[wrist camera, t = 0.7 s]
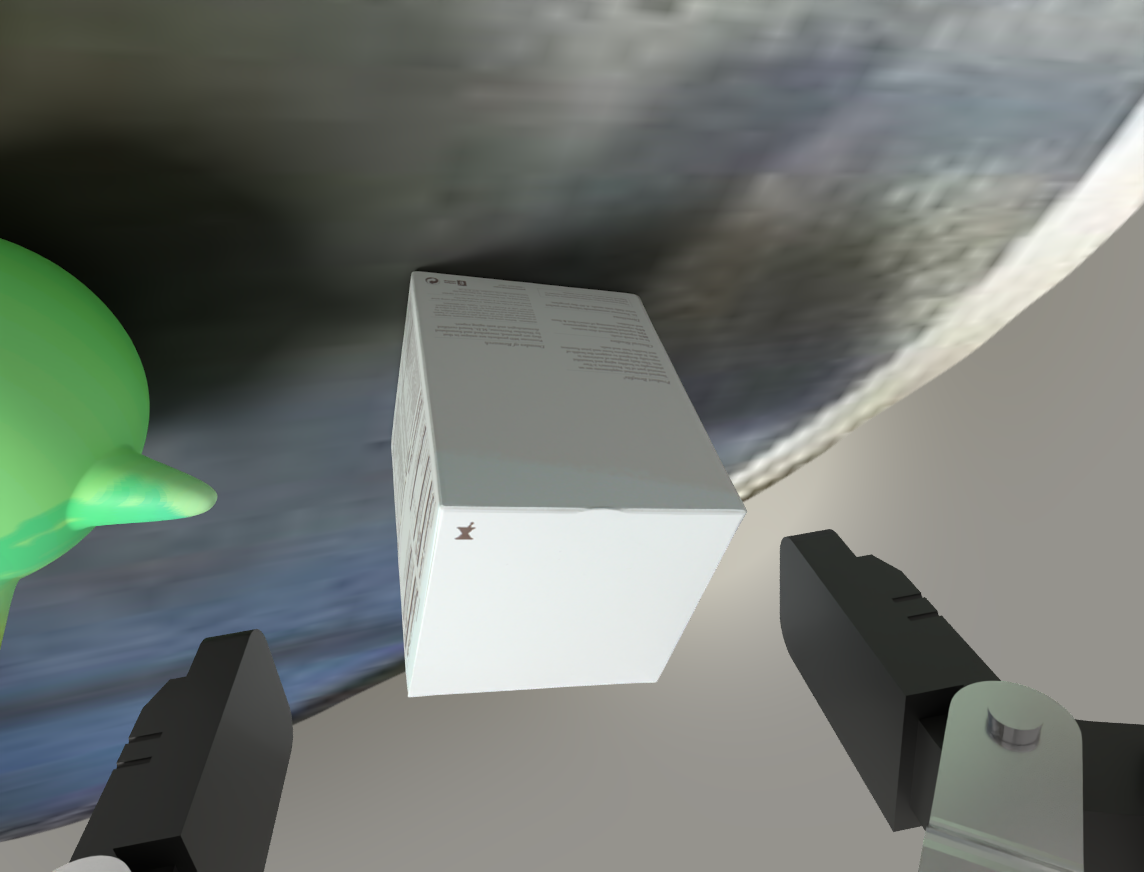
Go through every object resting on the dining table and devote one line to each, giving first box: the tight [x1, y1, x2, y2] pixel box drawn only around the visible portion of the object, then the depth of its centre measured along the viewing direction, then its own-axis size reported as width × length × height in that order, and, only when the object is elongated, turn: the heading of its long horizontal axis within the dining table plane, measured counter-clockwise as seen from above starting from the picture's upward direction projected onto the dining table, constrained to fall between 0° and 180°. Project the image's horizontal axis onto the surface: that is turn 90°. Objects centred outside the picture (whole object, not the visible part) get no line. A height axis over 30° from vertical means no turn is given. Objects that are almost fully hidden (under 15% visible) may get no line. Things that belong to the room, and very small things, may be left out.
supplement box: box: [391, 271, 747, 697], centre depth 42 cm, size 13×13×18 cm
